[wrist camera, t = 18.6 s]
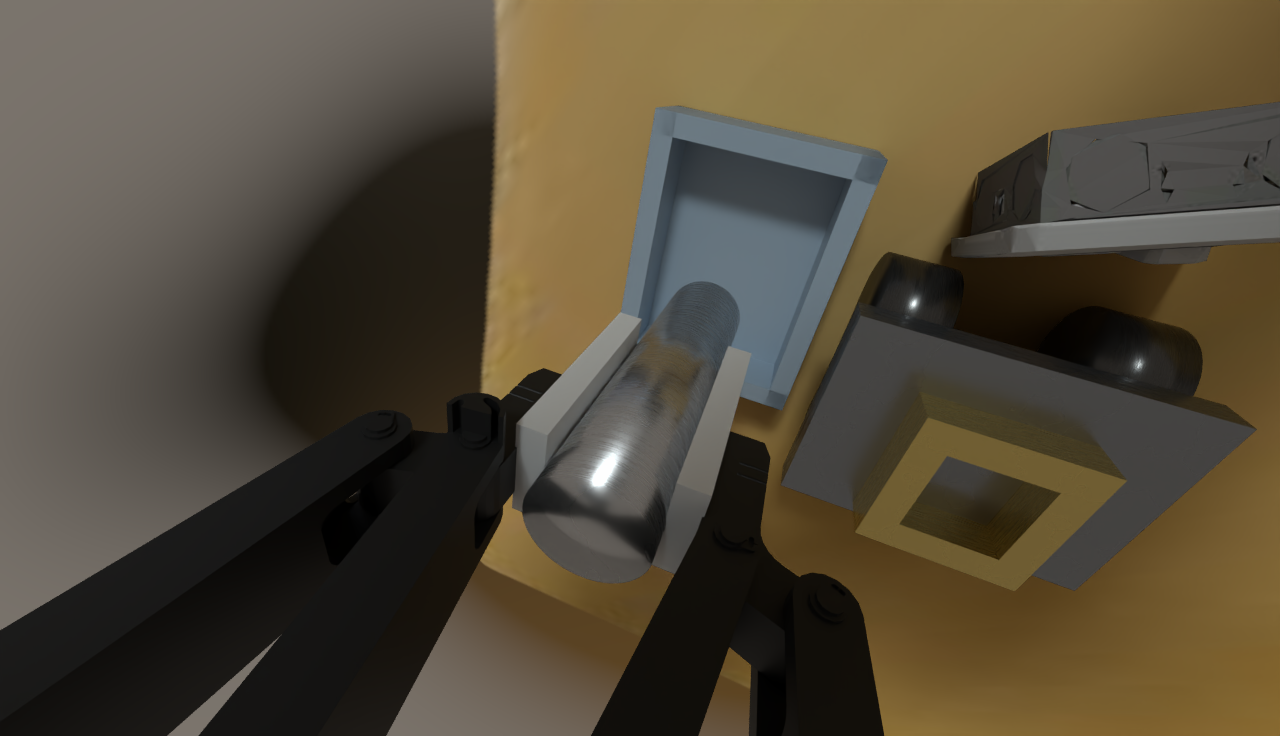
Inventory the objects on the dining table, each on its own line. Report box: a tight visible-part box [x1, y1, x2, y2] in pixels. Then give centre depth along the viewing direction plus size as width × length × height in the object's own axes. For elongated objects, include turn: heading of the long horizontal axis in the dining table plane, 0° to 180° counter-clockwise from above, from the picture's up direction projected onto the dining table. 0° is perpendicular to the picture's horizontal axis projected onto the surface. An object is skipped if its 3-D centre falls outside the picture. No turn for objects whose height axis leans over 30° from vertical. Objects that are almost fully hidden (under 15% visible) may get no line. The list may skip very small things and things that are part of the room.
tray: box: [621, 106, 888, 410], centre depth 26 cm, size 13×10×4 cm
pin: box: [522, 281, 740, 583], centre depth 15 cm, size 3×3×12 cm
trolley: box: [781, 252, 1257, 591], centre depth 23 cm, size 13×14×9 cm
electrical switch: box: [951, 102, 1280, 264], centre depth 18 cm, size 9×5×9 cm, turn 99°
